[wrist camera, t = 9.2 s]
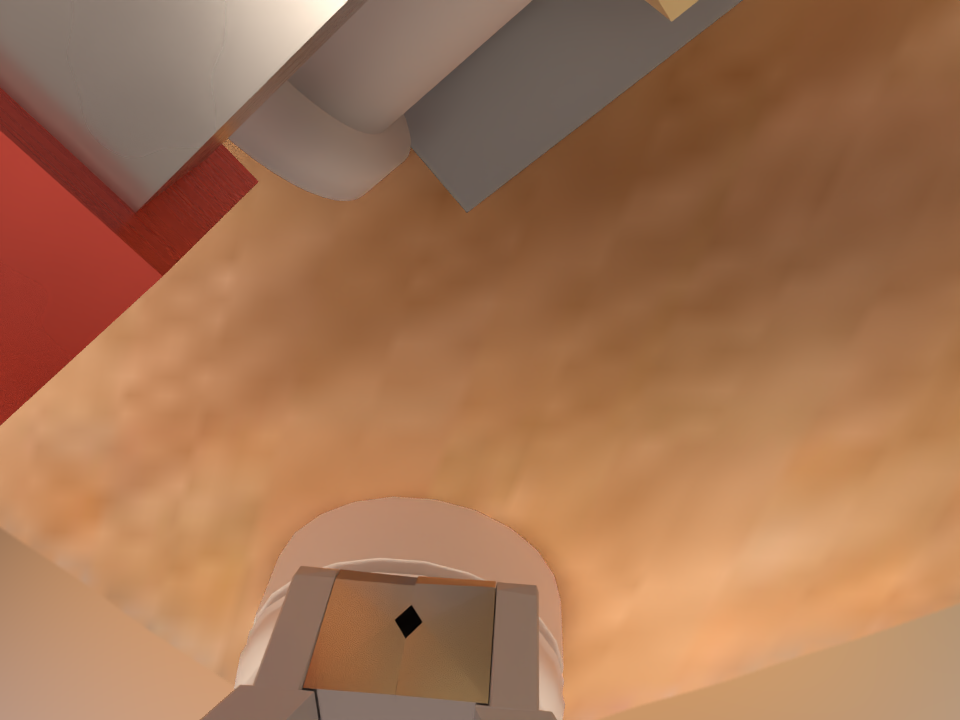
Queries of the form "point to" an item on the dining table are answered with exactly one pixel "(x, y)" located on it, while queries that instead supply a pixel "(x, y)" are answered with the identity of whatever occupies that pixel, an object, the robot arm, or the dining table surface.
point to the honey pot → (416, 567)
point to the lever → (123, 152)
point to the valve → (459, 88)
